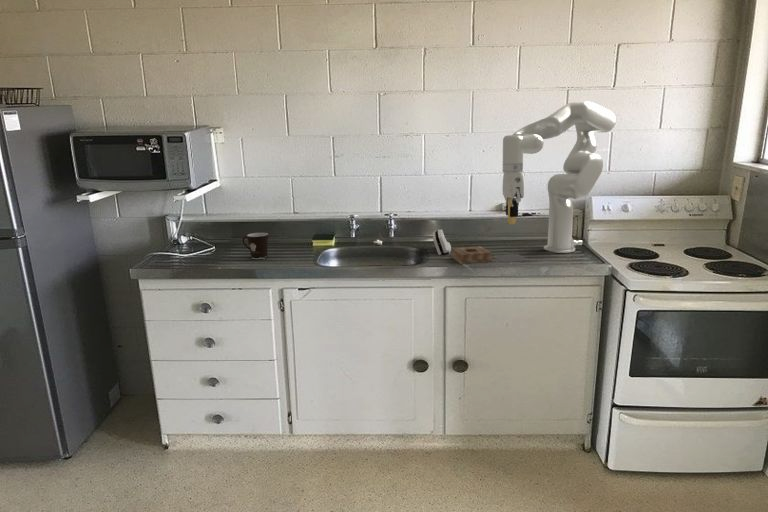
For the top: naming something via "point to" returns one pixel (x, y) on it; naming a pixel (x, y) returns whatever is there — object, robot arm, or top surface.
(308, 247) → the top surface
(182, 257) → the top surface
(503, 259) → the mat
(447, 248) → the white plastic device case
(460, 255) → the hole block
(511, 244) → the top surface
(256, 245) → the coffee mug
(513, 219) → the peg
